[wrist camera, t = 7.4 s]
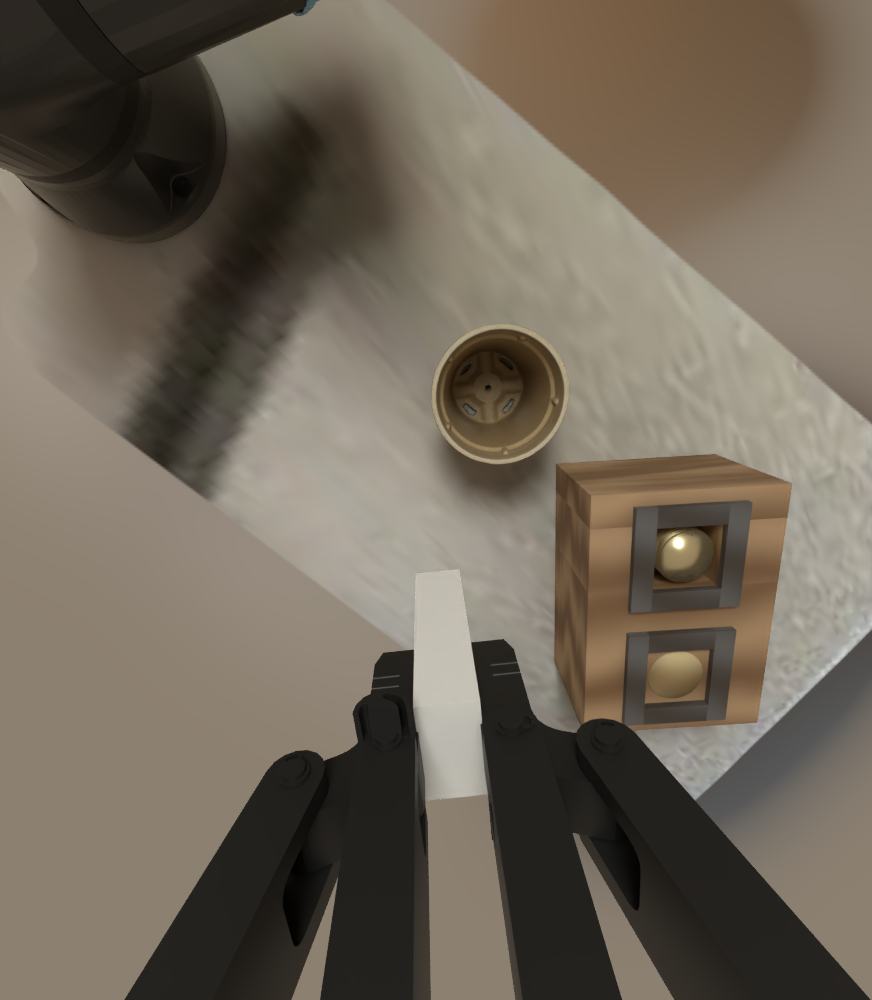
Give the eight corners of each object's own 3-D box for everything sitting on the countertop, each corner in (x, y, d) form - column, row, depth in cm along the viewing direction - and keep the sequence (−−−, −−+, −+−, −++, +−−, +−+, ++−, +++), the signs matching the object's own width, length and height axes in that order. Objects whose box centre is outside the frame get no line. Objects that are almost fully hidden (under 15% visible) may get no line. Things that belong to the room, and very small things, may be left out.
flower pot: (417, 426, 44) (416, 445, 36) (446, 314, 42) (452, 306, 33) (522, 454, 45) (543, 478, 37) (556, 345, 42) (588, 345, 34)
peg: (618, 498, 44) (659, 531, 36) (666, 495, 44) (718, 527, 36) (616, 543, 46) (655, 585, 38) (663, 540, 46) (712, 581, 38)
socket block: (556, 463, 45) (593, 498, 35) (714, 454, 45) (798, 485, 35) (554, 660, 51) (586, 738, 41) (695, 651, 51) (761, 727, 41)
